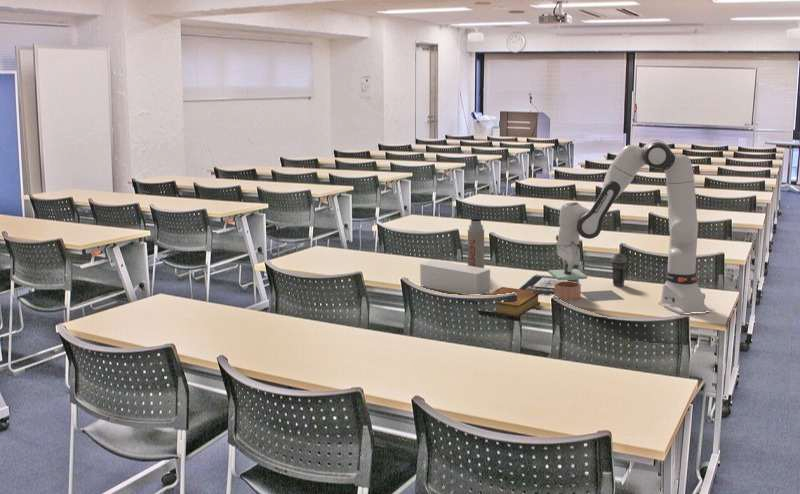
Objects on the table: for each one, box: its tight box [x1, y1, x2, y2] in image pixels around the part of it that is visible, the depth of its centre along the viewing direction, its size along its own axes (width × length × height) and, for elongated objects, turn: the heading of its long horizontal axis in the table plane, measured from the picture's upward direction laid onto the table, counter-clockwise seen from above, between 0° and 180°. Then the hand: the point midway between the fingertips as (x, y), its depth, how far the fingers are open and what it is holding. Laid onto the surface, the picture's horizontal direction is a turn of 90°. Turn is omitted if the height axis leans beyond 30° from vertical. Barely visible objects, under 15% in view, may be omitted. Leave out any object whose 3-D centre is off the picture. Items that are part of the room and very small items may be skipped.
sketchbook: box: [518, 274, 580, 297], centre depth 381 cm, size 22×30×2 cm
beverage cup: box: [611, 244, 629, 287], centre depth 377 cm, size 7×7×20 cm
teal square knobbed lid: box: [548, 264, 588, 280], centre depth 360 cm, size 13×13×5 cm
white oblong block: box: [419, 259, 491, 295], centre depth 379 cm, size 32×11×11 cm, turn 51°
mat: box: [581, 290, 625, 302], centre depth 362 cm, size 15×15×1 cm
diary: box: [488, 286, 541, 318], centre depth 349 cm, size 23×19×6 cm
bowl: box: [553, 281, 582, 301], centre depth 362 cm, size 11×11×6 cm
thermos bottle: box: [467, 217, 485, 268], centre depth 403 cm, size 8×8×28 cm
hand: (567, 270), depth 360 cm, fingers closed on teal square knobbed lid, 3 cm apart
